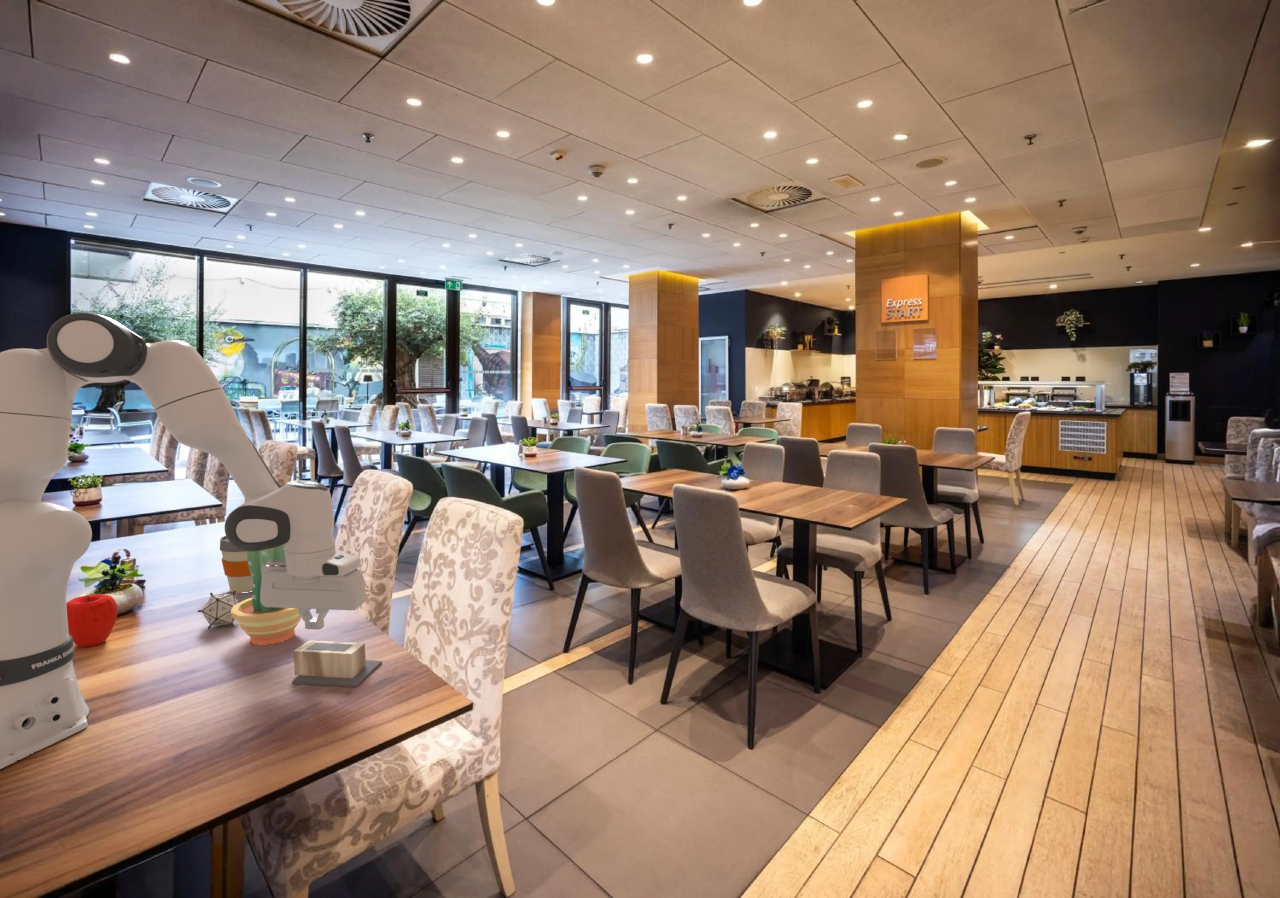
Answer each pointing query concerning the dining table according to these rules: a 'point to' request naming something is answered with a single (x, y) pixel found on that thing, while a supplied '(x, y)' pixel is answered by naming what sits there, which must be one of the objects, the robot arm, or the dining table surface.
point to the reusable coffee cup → (236, 567)
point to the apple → (91, 619)
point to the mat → (338, 681)
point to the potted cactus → (261, 620)
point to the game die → (219, 609)
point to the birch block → (329, 659)
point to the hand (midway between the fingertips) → (314, 628)
